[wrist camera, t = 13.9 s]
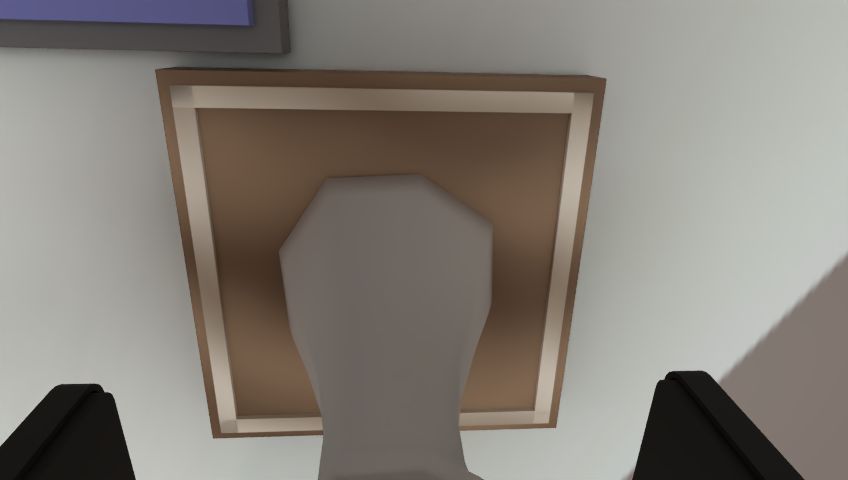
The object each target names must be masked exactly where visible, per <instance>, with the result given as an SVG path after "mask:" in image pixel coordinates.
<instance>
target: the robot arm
mask: <svg viewBox="0 0 848 480" xmlns="http://www.w3.org/2000/svg"><path fill="white" fill-rule="evenodd" d="M0 480H136V479H135V475H134V471H133V467H132V464H131V460H130V456H129V452H128V449H127V445H126V441H125V437H124V434H123V430H122V426H121V422H120V419H119V415H118V411H117V407H116V403H115V400H114V397H113V395H112V394H111V393H108V392H104V390H103V388H102V387H101V386H100V385H99V384H61V385H58V386H56V387H54V388H53V389H52V390H51V391H50V392H49V393H48V394H47V395H46V396H45V397H44V399H43V400H42V401H41V402H40V403H39V404H38V405H37V406H36V407H35V409H34V410H33V411H32V412H31V413H30V414H29V415H28V416H27V417H26V419H25V420H24V421H23V422H22V423H21V424H20V425H19V426H18V427H17V429H16V430H15V431H14V432H13V433H12V434H11V435H10V436H9V437H8V439H7V440H6V441H5V442H4V443H3V444H2V445H1V446H0ZM632 480H804V479H803V478H802V476H801V475H800V474H799V473H798V472H797V471H796V470H795V469H794V468H793V466H792V465H791V464H790V463H789V462H788V461H787V460H786V459H785V458H784V457H783V456H782V454H781V453H780V452H779V451H778V450H777V449H776V448H775V447H774V446H773V444H772V443H771V442H770V441H769V440H768V439H767V438H766V437H765V436H764V434H763V433H762V432H761V431H760V430H759V429H758V428H757V427H756V426H755V425H754V423H753V422H752V421H751V420H750V419H749V418H748V417H747V416H746V414H745V413H744V412H743V411H742V410H741V409H740V408H739V407H738V406H737V405H736V404H735V403H734V401H733V400H732V399H731V398H730V397H729V396H728V395H727V393H726V392H725V391H724V390H723V389H722V388H721V387H720V386H719V385H718V384H717V382H716V381H715V380H714V379H713V378H712V377H711V376H710V375H709V374H708V373H707V372H704V371H672V372H669V373H668V374H667V375H666V377H665V379H664V380H660V381H659V382H658V383H657V385H656V388H655V392H654V396H653V400H652V404H651V408H650V412H649V416H648V420H647V424H646V428H645V432H644V436H643V440H642V444H641V448H640V452H639V456H638V459H637V463H636V467H635V471H634V475H633V479H632Z"/></svg>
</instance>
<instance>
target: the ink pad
mask: <svg viewBox="0 0 848 480" xmlns="http://www.w3.org/2000/svg"><path fill="white" fill-rule="evenodd" d="M0 47H25V48H68V49H112V50H155V51H199V52H243V53H289V52H290V40H289V24H288V9H287V0H0Z"/></svg>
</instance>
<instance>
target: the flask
mask: <svg viewBox="0 0 848 480" xmlns="http://www.w3.org/2000/svg"><path fill="white" fill-rule="evenodd" d="M279 257H280V264H281V271H282V278H283V285H284V292H285V299H286V306H287V313H288V320H289V327H290V331H291V334H292V337H293V340H294V343H295V345H296V347H297V349H298V352H299V354H300V356H301V359H302V361H303V363H304V366H305V368H306V370H307V373H308V376H309V379H310V382H311V385H312V388H313V391H314V394H315V397H316V399H317V402H318V405H319V408H320V411H321V414H322V425H323V444H322V452H321V459H320V467H319V475H318V480H483V479H482V478H480V477H479V476H477V475H475V474H473V473H471V472H469V471H468V469H467V467H466V464H465V461H464V455H463V449H462V443H461V437H460V431H459V420H460V403H461V400H462V396H463V392H464V389H465V385H466V382H467V378H468V375H469V371H470V368H471V364H472V361H473V357H474V353H475V350H476V347H477V344H478V341H479V339H480V336H481V333H482V330H483V328H484V325H485V322H486V319H487V317H488V314H489V310H490V307H491V303H492V270H493V222H491V221H490V220H488V219H487V218H485V217H484V216H482V215H481V214H479V213H478V212H476V211H475V210H473V209H472V208H470V207H469V206H467V205H466V204H465V203H463V202H462V201H460V200H459V199H457V198H456V197H454V196H453V195H451V194H450V193H448V192H447V191H445V190H444V189H442V188H441V187H439V186H438V185H436V184H435V183H433V182H432V181H430V180H429V179H427V178H426V177H424V176H423V175H421V174H407V175H385V176H363V177H342V178H326V179H325V181H324V182H323V184H322V185H321V187H320V188H319V190H318V191H317V193H316V195H315V196H314V198H313V199H312V201H311V202H310V204H309V205H308V207H307V208H306V210H305V211H304V213H303V214H302V216H301V218H300V219H299V221H298V222H297V224H296V225H295V227H294V228H293V230H292V231H291V233H290V234H289V236H288V238H287V239H286V241H285V242H284V244H283V245H282V247H281V248H280V250H279Z"/></svg>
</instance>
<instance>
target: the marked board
mask: <svg viewBox="0 0 848 480" xmlns="http://www.w3.org/2000/svg"><path fill="white" fill-rule="evenodd" d="M155 72H156V78H157V84H158V91H159V97H160V103H161V110H162V116H163V123H164V129H165V135H166V142H167V148H168V155H169V161H170V167H171V174H172V180H173V186H174V193H175V199H176V206H177V212H178V218H179V225H180V231H181V237H182V244H183V250H184V257H185V263H186V269H187V276H188V282H189V288H190V295H191V301H192V308H193V314H194V320H195V327H196V333H197V340H198V346H199V352H200V359H201V365H202V371H203V378H204V384H205V391H206V397H207V403H208V410H209V416H210V422H211V429H212V435H213V438H241V437H273V436H305V435H323V425H322V414H321V411H320V408H319V405H318V402H317V399H316V397H315V394H314V391H313V388H312V385H311V382H310V379H309V376H308V373H307V370H306V368H305V366H304V363H303V361H302V359H301V356H300V354H299V352H298V349H297V347H296V345H295V343H294V340H293V337H292V334H291V331H290V327H289V320H288V313H287V306H286V299H285V292H284V285H283V278H282V271H281V264H280V257H279V250H280V248H281V247H282V245H283V244H284V242H285V241H286V239H287V238H288V236H289V234H290V233H291V231H292V230H293V228H294V227H295V225H296V224H297V222H298V221H299V219H300V218H301V216H302V214H303V213H304V211H305V210H306V208H307V207H308V205H309V204H310V202H311V201H312V199H313V198H314V196H315V195H316V193H317V191H318V190H319V188H320V187H321V185H322V184H323V182H324V181H325V179H326V178H342V177H363V176H385V175H407V174H421V175H423V176H424V177H426V178H427V179H429V180H430V181H432V182H433V183H435V184H436V185H438V186H439V187H441V188H442V189H444V190H445V191H447V192H448V193H450V194H451V195H453V196H454V197H456V198H457V199H459V200H460V201H462V202H463V203H465V204H466V205H467V206H469V207H470V208H472V209H473V210H475V211H476V212H478V213H479V214H481V215H482V216H484V217H485V218H487V219H488V220H490V221H491V222H493V270H492V303H491V307H490V310H489V314H488V317H487V319H486V322H485V325H484V328H483V330H482V333H481V336H480V339H479V341H478V344H477V347H476V350H475V353H474V357H473V361H472V364H471V368H470V371H469V375H468V378H467V382H466V385H465V389H464V392H463V396H462V400H461V403H460V420H459V431H465V430H497V429H530V428H556V424H557V417H558V410H559V404H560V397H561V390H562V383H563V376H564V369H565V362H566V355H567V348H568V342H569V335H570V328H571V321H572V314H573V307H574V300H575V293H576V286H577V279H578V273H579V266H580V259H581V252H582V245H583V238H584V231H585V224H586V217H587V211H588V204H589V197H590V190H591V183H592V176H593V169H594V162H595V155H596V148H597V142H598V135H599V128H600V121H601V114H602V107H603V100H604V93H605V86H606V79H605V78H600V77H594V76H588V75H540V74H492V73H444V72H396V71H347V70H299V69H251V68H203V67H171V68H163V69H156V70H155Z"/></svg>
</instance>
